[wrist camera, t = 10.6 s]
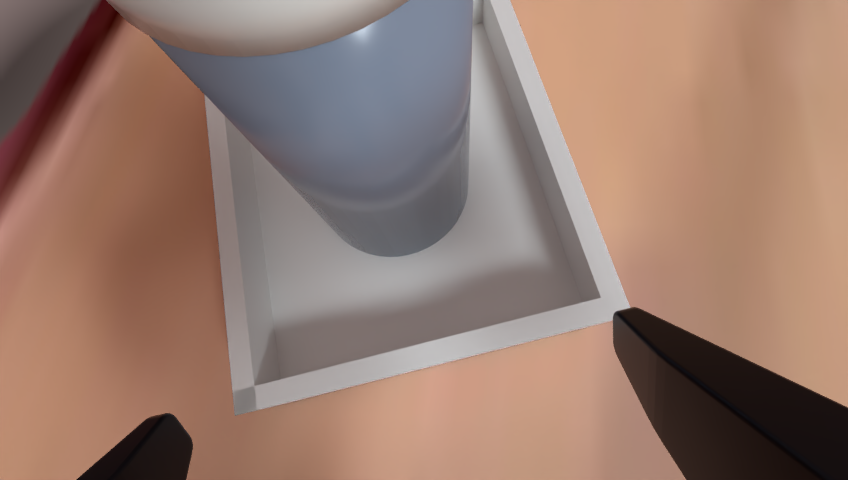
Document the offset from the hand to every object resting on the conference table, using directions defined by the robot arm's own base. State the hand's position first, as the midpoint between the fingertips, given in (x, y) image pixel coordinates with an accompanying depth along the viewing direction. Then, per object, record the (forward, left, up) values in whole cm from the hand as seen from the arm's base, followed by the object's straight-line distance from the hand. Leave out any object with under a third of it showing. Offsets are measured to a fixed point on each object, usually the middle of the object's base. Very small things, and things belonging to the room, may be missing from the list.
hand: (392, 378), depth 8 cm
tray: (+8, 0, -9) cm, 12 cm away
